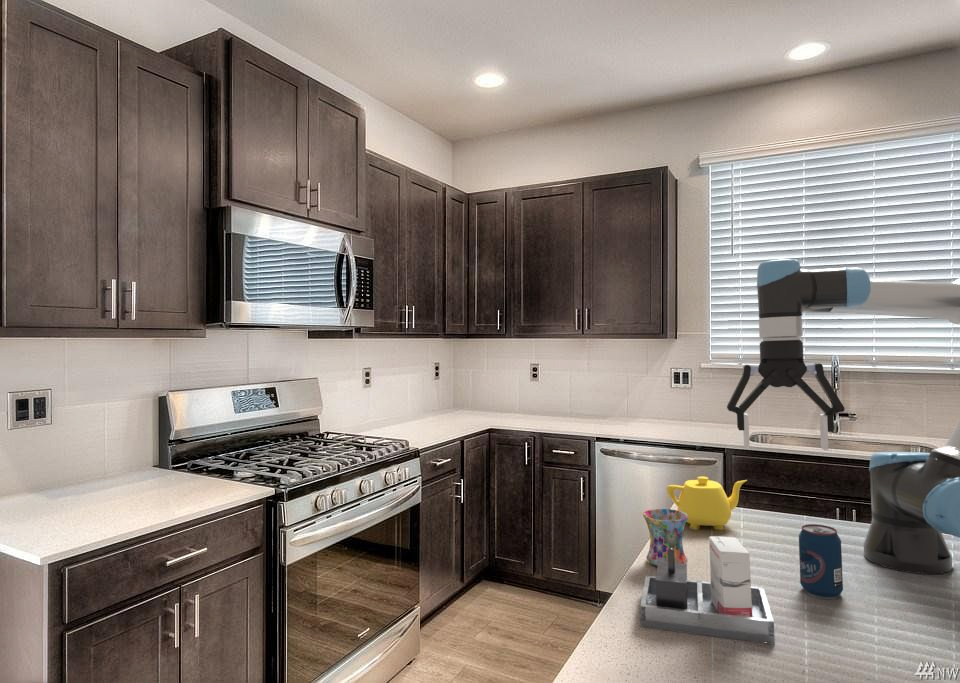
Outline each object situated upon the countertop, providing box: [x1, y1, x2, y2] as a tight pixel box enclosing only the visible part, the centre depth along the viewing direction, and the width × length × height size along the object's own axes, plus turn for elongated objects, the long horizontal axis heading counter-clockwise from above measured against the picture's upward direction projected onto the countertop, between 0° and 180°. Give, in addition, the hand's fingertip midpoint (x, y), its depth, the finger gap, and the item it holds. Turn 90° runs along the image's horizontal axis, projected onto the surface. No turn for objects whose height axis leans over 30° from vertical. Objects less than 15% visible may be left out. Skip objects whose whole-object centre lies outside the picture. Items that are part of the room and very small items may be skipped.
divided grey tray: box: [640, 548, 776, 645], centre depth 101 cm, size 20×14×11 cm
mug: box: [642, 508, 688, 567], centre depth 127 cm, size 12×9×11 cm
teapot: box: [666, 476, 748, 531], centre depth 151 cm, size 13×20×12 cm
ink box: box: [708, 536, 752, 617], centre depth 99 cm, size 9×5×12 cm, turn 171°
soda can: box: [798, 523, 844, 600], centre depth 109 cm, size 7×7×12 cm
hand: (784, 448), depth 112 cm, fingers open, 13 cm apart
